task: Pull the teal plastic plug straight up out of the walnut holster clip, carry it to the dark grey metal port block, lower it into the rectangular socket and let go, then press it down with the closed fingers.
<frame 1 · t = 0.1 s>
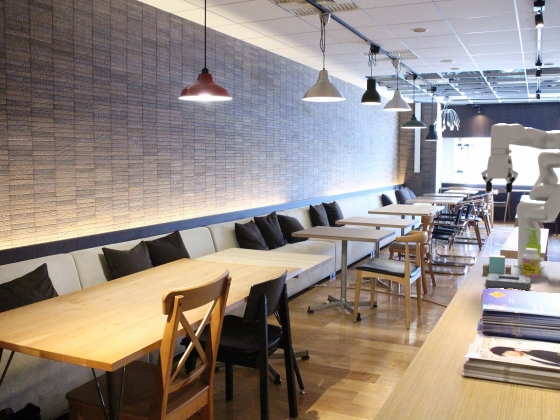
hand: (498, 191, 238), 37 cm above the counter, tool pointing down, fingers open, 9 cm apart
supplement bottle: (530, 279, 231), on the counter
port: (508, 285, 220), on the counter
plug: (496, 274, 236), point 1 cm above the counter, touching holster
holster: (496, 276, 236), on the counter
soap dispenser: (531, 274, 241), on the counter
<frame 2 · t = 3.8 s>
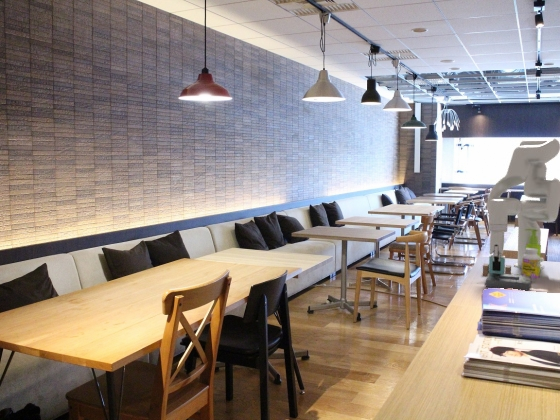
hand: (496, 269, 236), 3 cm above the counter, tool pointing down, fingers closed on plug, 4 cm apart
plug: (496, 274, 236), point 1 cm above the counter, touching gripper, holster
everything else where it was.
when the fingers open (4 cm above the counter, at t = 9.3 s): plug drops 2 cm, resting in port.
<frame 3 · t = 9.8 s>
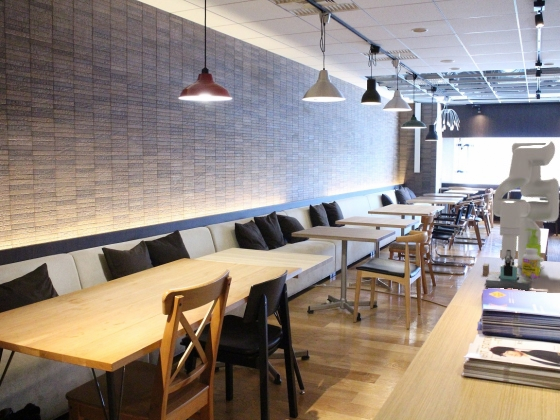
hand: (508, 273, 220), 5 cm above the counter, tool pointing down, fingers open, 9 cm apart
plug: (508, 285, 220), resting in port
everything else where it was.
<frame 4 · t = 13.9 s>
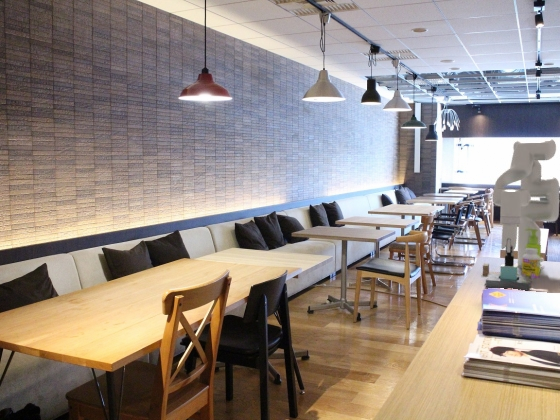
hand: (509, 265, 219), 8 cm above the counter, tool pointing down, fingers closed
plug: (508, 285, 220), resting in port, touching gripper
everything else where it was.
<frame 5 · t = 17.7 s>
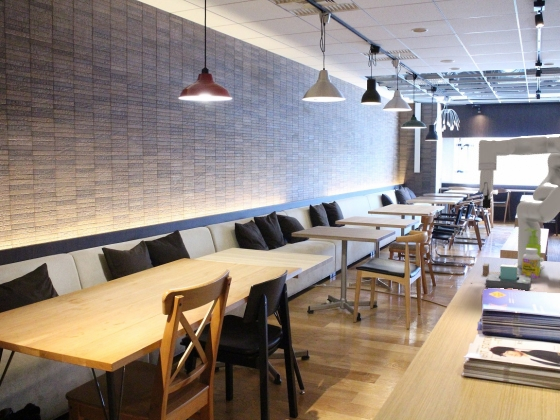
hand: (486, 208, 244), 29 cm above the counter, tool pointing down, fingers closed
plug: (508, 285, 220), resting in port
everything else where it was.
at the end: plug 0.1 cm off-centre on the port, point 0.0 cm above the port's base; plug tilted 0°; the gripper is holding nothing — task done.
